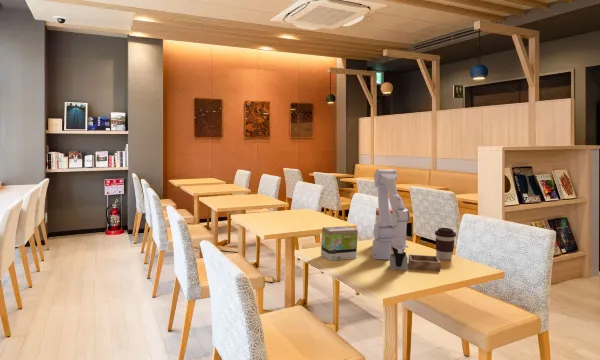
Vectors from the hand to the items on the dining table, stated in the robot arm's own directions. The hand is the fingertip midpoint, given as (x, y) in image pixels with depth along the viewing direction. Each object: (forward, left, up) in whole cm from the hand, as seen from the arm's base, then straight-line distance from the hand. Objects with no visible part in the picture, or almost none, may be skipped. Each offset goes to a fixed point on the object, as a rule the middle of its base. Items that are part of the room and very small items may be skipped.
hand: (398, 264), depth 190 cm
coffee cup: (+24, +22, -2) cm, 33 cm away
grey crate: (0, 0, -2) cm, 2 cm away
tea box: (-28, +11, -2) cm, 30 cm away
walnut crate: (+12, +5, -2) cm, 13 cm away
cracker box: (-3, +39, -2) cm, 39 cm away
